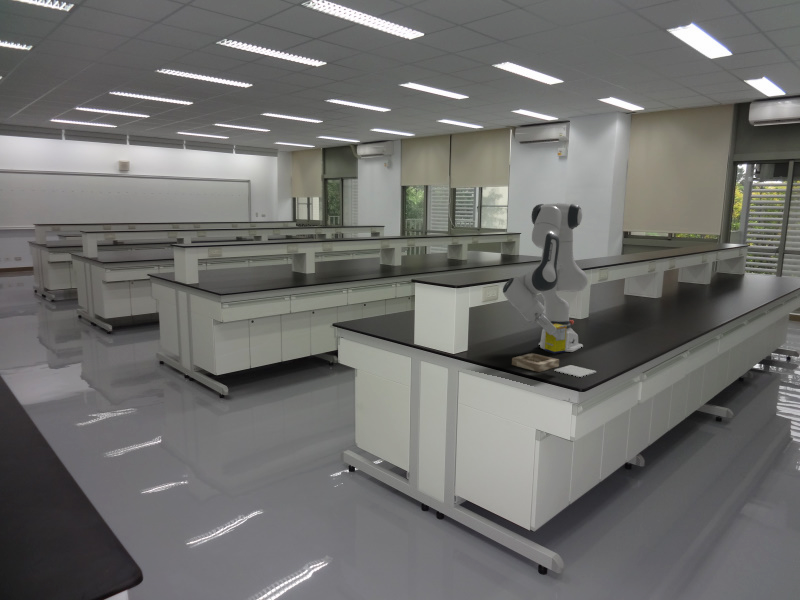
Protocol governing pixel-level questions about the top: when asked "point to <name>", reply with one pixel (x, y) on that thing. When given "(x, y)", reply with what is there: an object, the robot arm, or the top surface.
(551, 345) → the supplement box
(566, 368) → the grey pad
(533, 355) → the pocket holder
